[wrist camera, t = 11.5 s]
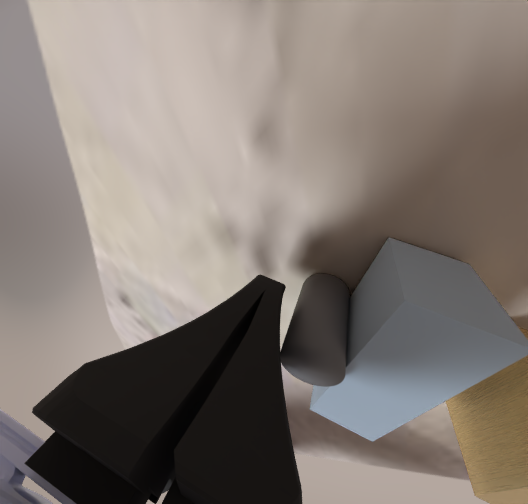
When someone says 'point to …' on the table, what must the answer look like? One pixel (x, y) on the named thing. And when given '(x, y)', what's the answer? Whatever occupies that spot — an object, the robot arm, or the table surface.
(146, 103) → the table surface
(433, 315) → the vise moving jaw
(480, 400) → the brass block
